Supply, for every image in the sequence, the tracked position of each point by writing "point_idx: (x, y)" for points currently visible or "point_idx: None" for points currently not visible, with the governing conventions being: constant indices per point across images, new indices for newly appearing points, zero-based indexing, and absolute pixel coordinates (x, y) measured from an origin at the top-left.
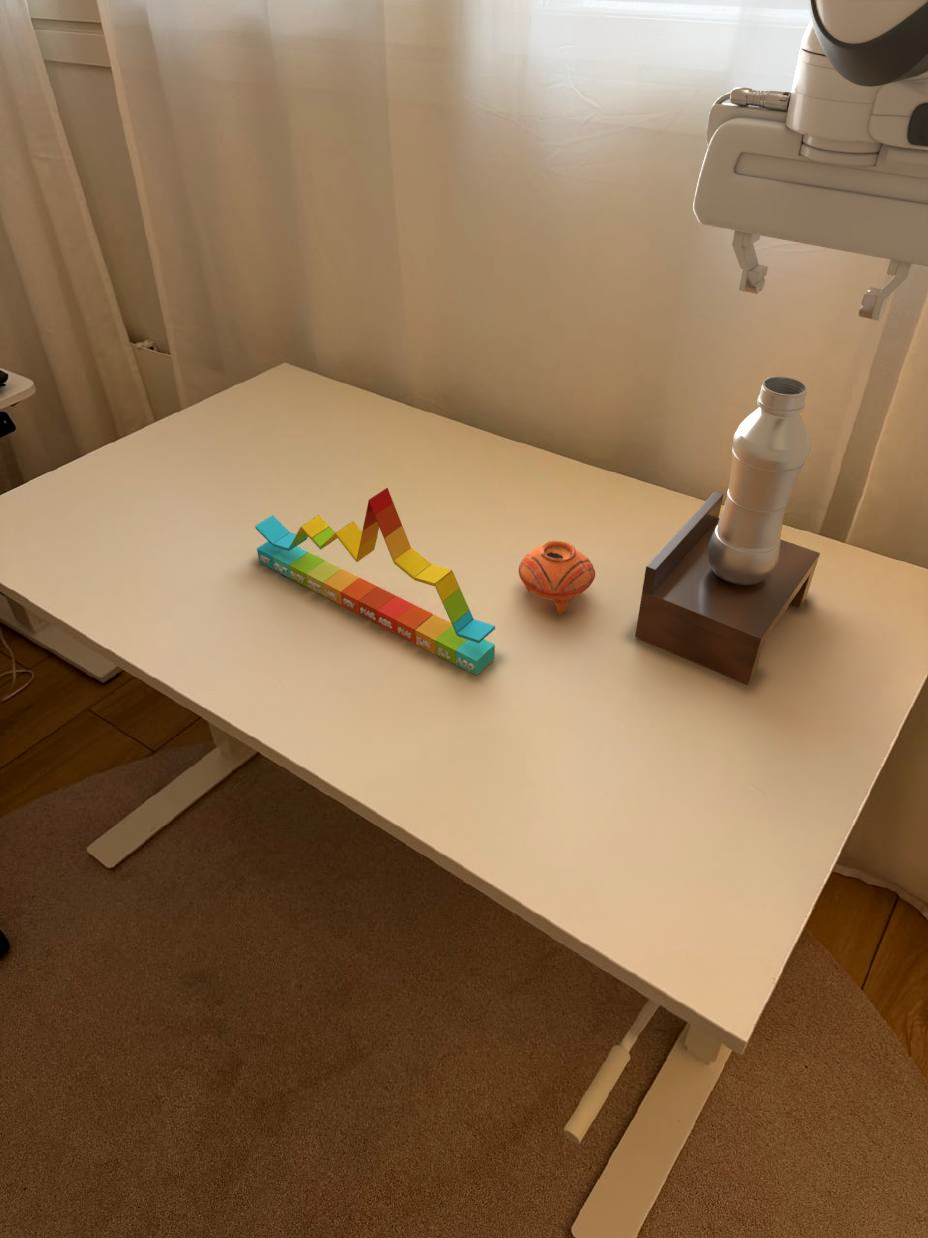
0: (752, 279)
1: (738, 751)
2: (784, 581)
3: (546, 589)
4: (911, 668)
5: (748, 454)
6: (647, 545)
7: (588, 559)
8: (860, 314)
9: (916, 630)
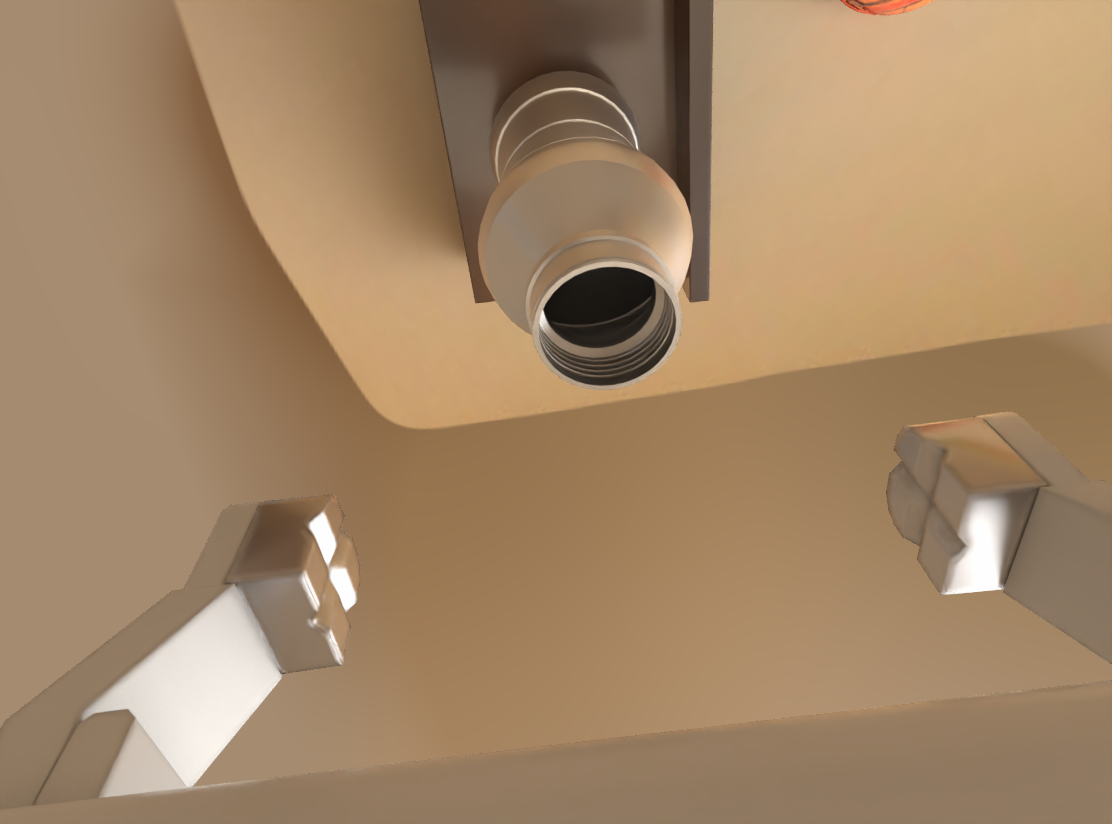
0: (980, 457)
1: None
2: (478, 177)
3: None
4: (259, 212)
5: (608, 143)
6: (776, 209)
7: (857, 3)
8: (320, 497)
9: (309, 304)
